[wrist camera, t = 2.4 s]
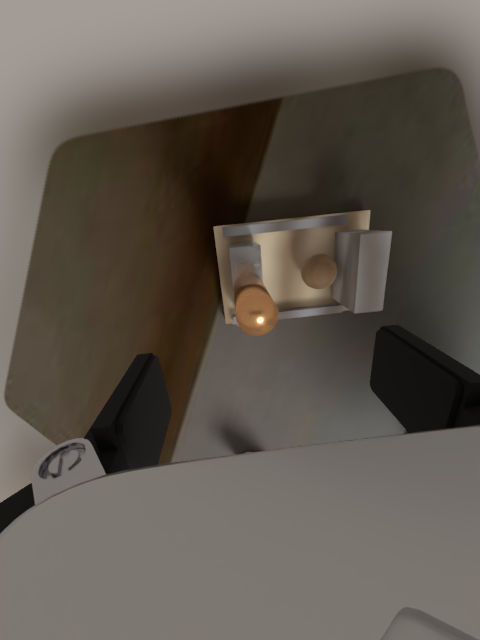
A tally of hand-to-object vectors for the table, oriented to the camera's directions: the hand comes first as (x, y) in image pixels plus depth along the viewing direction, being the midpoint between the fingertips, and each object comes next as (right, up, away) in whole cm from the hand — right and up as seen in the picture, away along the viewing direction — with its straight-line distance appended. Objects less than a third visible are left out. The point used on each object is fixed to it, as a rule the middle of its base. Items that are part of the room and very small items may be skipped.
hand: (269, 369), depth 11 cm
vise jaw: (-1, +7, +19) cm, 21 cm away
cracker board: (+5, +9, +21) cm, 23 cm away
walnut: (+8, +8, +20) cm, 23 cm away
